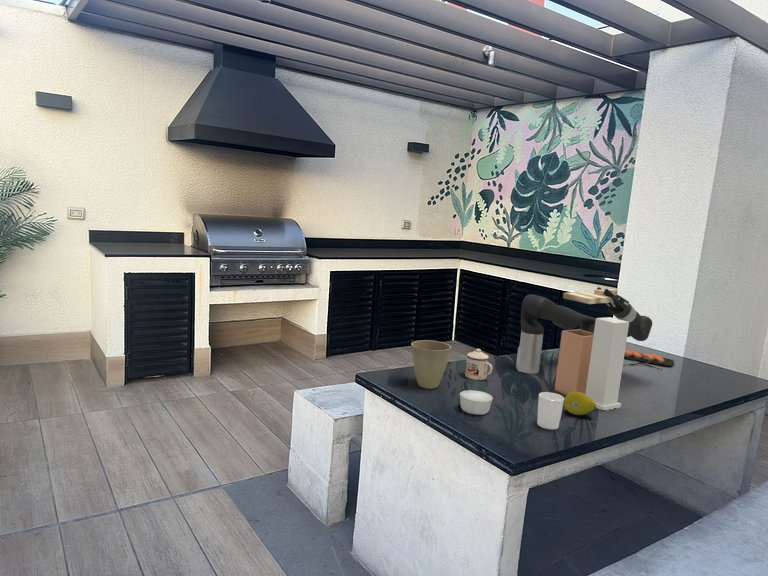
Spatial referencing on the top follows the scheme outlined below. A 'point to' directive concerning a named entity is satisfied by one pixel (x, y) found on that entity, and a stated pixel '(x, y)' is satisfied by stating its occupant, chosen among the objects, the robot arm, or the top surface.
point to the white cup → (549, 410)
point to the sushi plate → (647, 359)
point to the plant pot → (429, 362)
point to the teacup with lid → (477, 365)
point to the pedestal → (607, 362)
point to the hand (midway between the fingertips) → (601, 290)
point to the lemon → (578, 403)
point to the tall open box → (574, 361)
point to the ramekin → (475, 402)
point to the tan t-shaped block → (590, 296)
